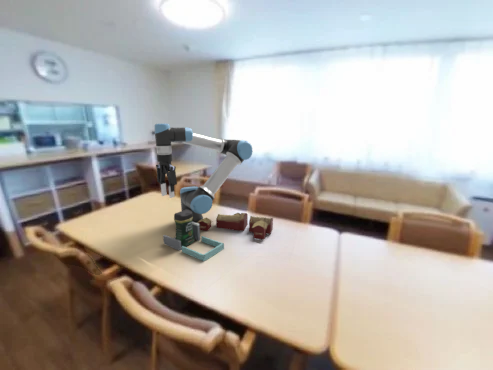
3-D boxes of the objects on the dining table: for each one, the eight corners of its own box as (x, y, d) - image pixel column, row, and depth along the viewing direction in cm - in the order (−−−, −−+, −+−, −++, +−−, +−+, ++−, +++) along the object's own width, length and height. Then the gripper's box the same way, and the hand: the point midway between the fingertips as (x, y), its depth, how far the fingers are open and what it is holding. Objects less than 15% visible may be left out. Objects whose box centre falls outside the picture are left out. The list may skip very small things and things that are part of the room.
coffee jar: (183, 249, 123) (181, 215, 118) (173, 245, 127) (170, 212, 123) (197, 241, 131) (195, 209, 126) (186, 238, 135) (184, 207, 131)
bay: (184, 234, 140) (183, 218, 137) (200, 240, 132) (199, 223, 130) (163, 244, 128) (162, 227, 126) (179, 250, 121) (178, 233, 119)
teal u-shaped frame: (202, 240, 132) (202, 235, 131) (224, 248, 123) (223, 243, 122) (181, 251, 120) (181, 246, 119) (204, 261, 111) (203, 255, 110)
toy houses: (273, 226, 151) (273, 211, 148) (268, 241, 131) (268, 224, 129) (207, 220, 162) (207, 206, 159) (194, 233, 142) (193, 217, 140)
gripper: (147, 153, 126) (151, 195, 132) (170, 155, 116) (173, 200, 121) (159, 152, 132) (163, 192, 138) (182, 154, 122) (185, 197, 127)
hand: (168, 196), depth 129 cm, fingers open, 6 cm apart
